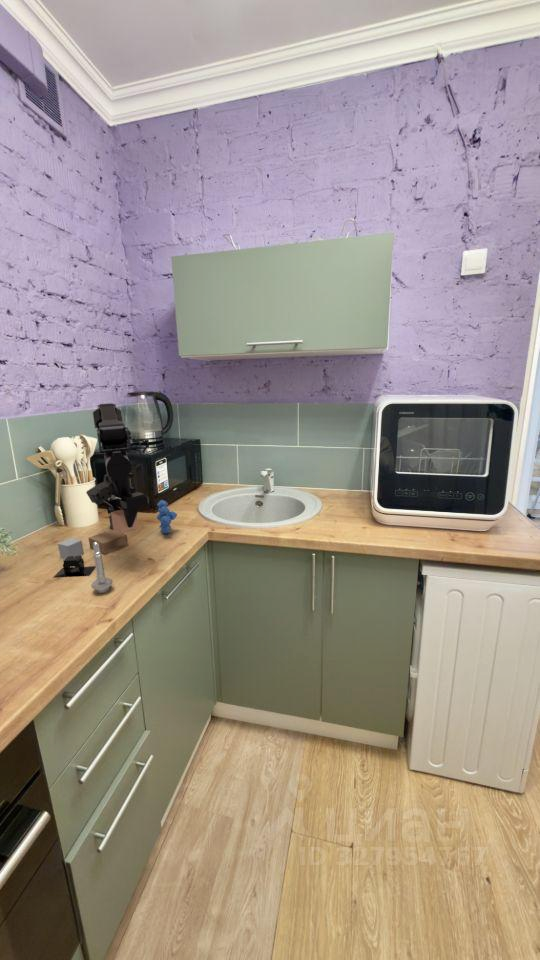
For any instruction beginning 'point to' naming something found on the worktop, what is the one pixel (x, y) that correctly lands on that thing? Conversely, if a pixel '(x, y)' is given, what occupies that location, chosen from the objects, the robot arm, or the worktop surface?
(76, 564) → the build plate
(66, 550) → the slate cube
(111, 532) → the walnut block
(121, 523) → the terracotta cube
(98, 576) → the screw
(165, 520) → the grapes
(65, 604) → the worktop surface
